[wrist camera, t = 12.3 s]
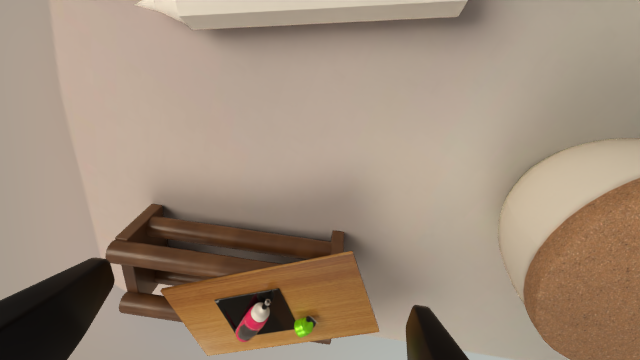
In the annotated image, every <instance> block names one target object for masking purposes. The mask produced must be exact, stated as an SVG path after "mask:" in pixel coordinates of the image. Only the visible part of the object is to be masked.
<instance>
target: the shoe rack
mask: <svg viewBox="0 0 640 360" xmlns="http://www.w3.org/2000/svg"><path fill="white" fill-rule="evenodd" d="M115 239H116V240H114V241H112V242H111V243H110V245H109V246H108V248H107V251H106V259H107V260H108V261H109V262H110V263H114V264H121V265H122V270H123V274H124V278H125V283H126V287H127V291H128V292H126V293H125V294H124V296H123V297H122V299H121V301H120V304H119V311H120V312H121V313H127V314H132V315H139V316H145V317H152V318H158V319H165V320H172V321H178V322H182V320H181V319H180V317H179V316H178V315H177V313H176V312H175V310H174V309H173V308H172V306H171V305H170V304H169V302H168V301H167V299H166V298H165V297H164V296H161V295H154V294H152V292H153V291H154V289H155V288H156V287H157V285H158V284H165V285H172V286H177V285H182V284H187V283H193V282H198V281H203V280H208V279H213V278H218V277H223V276H228V275H233V274H238V273H243V272H248V271H253V270H258V269H263V268H268V267H273V266H279V265H284V264H279V263H272V262H265V261H258V260H252V259H245V258H238V257H232V256H225V255H218V254H211V253H205V252H198V251H191V250H184V249H178V248H171V247H168V246H167V239H171V240H178V241H184V242H191V243H198V244H205V245H211V246H218V247H225V248H232V249H238V250H245V251H252V252H259V253H265V254H272V255H279V256H286V257H292V258H299V259H306V260H309V259H314V258H319V257H324V256H329V255H334V254H339V253H343V251H344V232H341V231H334V230H333V232H332V238H331V242H328V241H321V240H314V239H307V238H301V237H294V236H287V235H280V234H273V233H267V232H260V231H253V230H246V229H239V228H233V227H226V226H219V225H212V224H205V223H199V222H192V221H185V220H178V219H171V218H165V217H164V216H163V209H162V205H156V204H151V205H150V206H149V207H148V208H147V209H146V210H145V211H143V212H142V213H141V214H140V215H139V216H138V217H137V218H136V219H135V220H134V221H133V222H132V223H130V224H129V225H128V226H127V227H126V228H125V229H124V230H123V231H122V232H121V233H120V234H119V235H117V236H116V238H115ZM310 342H316V343H322V344H330V343H331V339H324V340H317V341H310Z"/></svg>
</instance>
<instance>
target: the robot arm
mask: <svg viewBox="0 0 640 360" xmlns="http://www.w3.org/2000/svg"><path fill="white" fill-rule="evenodd" d="M113 285H114V275H113V272H112V268H111V265H110V262H109V261H108V260H107V259H102V258H91V259H88V260H86V261H84V262H82V263H80V264H78V265H76V266H74V267H71V268H69V269H67V270H65V271H63V272H61V273H58V274H56V275H54V276H52V277H50V278H48V279H45V280H43V281H41V282H39V283H37V284H35V285H32V286H30V287H29V288H26V289H24V290H22V291H20V292H17V293H15V294H13V295H11V296H9V297H7V298H5V299H2V300H0V360H67V359H68V358H69V356H70V355H71V353H72V352H73V351H74V349H75V348H76V346H77V345H78V344H79V342H80V341H81V339H82V338H83V336H84V335H85V333H86V331H87V330H88V328H89V327H90V325H91V323H92V322H93V320H94V318H95V316H96V315H97V313H98V311H99V310H100V308H101V306H102V305H103V303H104V301H105V299H106V298H107V296H108V294H109V293H110V291H111V289H112V288H113ZM406 342H407V356H408V360H469V359H468V358H467V356H466V355H465V354H464V352H463V351H462V350H461V349H460V347H459V346H458V345H457V343H456V342H455V341H454V339H453V338H452V337H451V336H450V334H449V333H448V332H447V330H446V329H445V328H444V326H443V325H442V324H441V322H440V321H439V320H438V319H437V317H436V316H435V315H434V313H433V312H432V311H431V310H430V308H428V307H426V306H419V305H414V306H413V308H412V310H411V313H410V316H409V318H408V321H407V324H406Z"/></svg>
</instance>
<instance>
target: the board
mask: <svg viewBox="0 0 640 360" xmlns="http://www.w3.org/2000/svg"><path fill="white" fill-rule="evenodd" d="M161 293H162V294H163V295H164V297H165V298H166V299H167V301H168V302H169V304H170V305H171V306H172V308H173V309H174V310H175V312H176V313H177V315H178V316H179V317H180V319H181V320H182V322H183V323H184V324H185V326H186V327H187V328H188V330H189V331H190V332H191V334H192V335H193V337H194V338H195V339H196V341H197V342H198V343H199V345H200V346H201V348H202V349H203V350H204V352H205V353H206V354H207V356H210V355H217V354H224V353H231V352H238V351H246V350H253V349H260V348H267V347H274V346H281V345H288V344H295V343H302V342H310V341H317V340H324V339H331V338H338V337H346V336H353V335H360V334H367V333H374V332H379V327H378V324H377V321H376V318H375V315H374V313H373V310H372V307H371V304H370V301H369V298H368V295H367V292H366V289H365V286H364V283H363V280H362V277H361V274H360V272H359V269H358V266H357V263H356V260H355V257H354V254H353V251H349V252H344V253H339V254H334V255H329V256H324V257H319V258H314V259H309V260H304V261H299V262H294V263H289V264H284V265H279V266H273V267H268V268H263V269H258V270H253V271H248V272H243V273H238V274H233V275H228V276H223V277H218V278H213V279H208V280H203V281H198V282H193V283H187V284H182V285H177V286H172V287H167V288H162V290H161Z"/></svg>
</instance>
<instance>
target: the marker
mask: <svg viewBox="0 0 640 360" xmlns="http://www.w3.org/2000/svg"><path fill="white" fill-rule="evenodd" d="M467 1H468V0H142V1H140V2H138V3H136V4H134V5H137V6H140V7H144V8H147V9H151V10H154V11H158V12H161V13H163V14H165V15H167V16H170V17H172V18H174V19H176V20H178V21H180V22H182V23H184V24H187V25H188V26H189V27H190V29H191V30H202V29H222V28H242V27H262V26H282V25H302V24H322V23H342V22H362V21H382V20H402V19H422V18H442V17H458V16H459V14H460V13H461V11H462V10H463V8H464V6H465V5H466V3H467Z"/></svg>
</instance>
